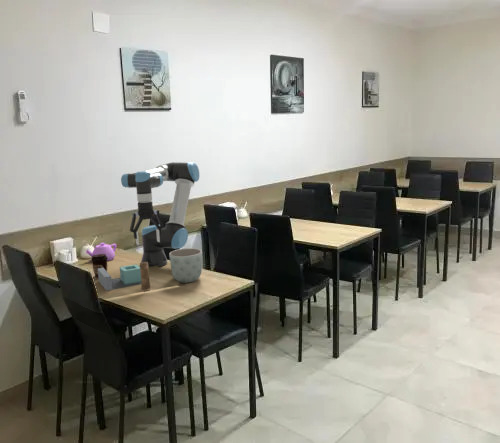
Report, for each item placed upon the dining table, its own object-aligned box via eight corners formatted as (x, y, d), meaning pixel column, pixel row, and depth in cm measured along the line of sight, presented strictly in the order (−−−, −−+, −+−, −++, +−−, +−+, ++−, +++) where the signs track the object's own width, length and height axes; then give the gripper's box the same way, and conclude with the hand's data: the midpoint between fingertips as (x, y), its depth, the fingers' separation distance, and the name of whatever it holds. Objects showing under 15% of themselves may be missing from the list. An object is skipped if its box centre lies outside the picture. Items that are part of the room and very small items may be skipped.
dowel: (148, 288, 244) (146, 261, 241) (151, 290, 240) (149, 263, 237) (141, 289, 242) (138, 262, 239) (143, 292, 238) (141, 264, 236)
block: (137, 276, 259) (136, 264, 258) (142, 281, 251) (141, 268, 250) (120, 279, 255) (119, 267, 254) (125, 284, 247) (123, 271, 246)
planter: (209, 281, 251) (207, 252, 248) (178, 287, 243) (176, 258, 240) (195, 273, 265) (193, 246, 263) (166, 279, 257) (164, 251, 254)
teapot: (82, 261, 301) (80, 244, 299) (112, 254, 314) (111, 238, 312) (91, 265, 291) (89, 248, 289) (122, 258, 304) (120, 242, 301)
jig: (138, 276, 264) (137, 262, 262) (147, 285, 248) (146, 269, 247) (98, 283, 254) (97, 268, 253) (106, 293, 239) (104, 277, 237)
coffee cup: (104, 281, 258) (102, 257, 256) (90, 280, 260) (87, 257, 258) (112, 276, 267) (109, 253, 264) (98, 275, 268) (95, 253, 266)
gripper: (163, 198, 259) (166, 238, 263) (120, 202, 248) (124, 244, 252) (168, 200, 252) (171, 241, 256) (124, 204, 242) (128, 247, 246)
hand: (148, 243), depth 254 cm, fingers open, 10 cm apart
